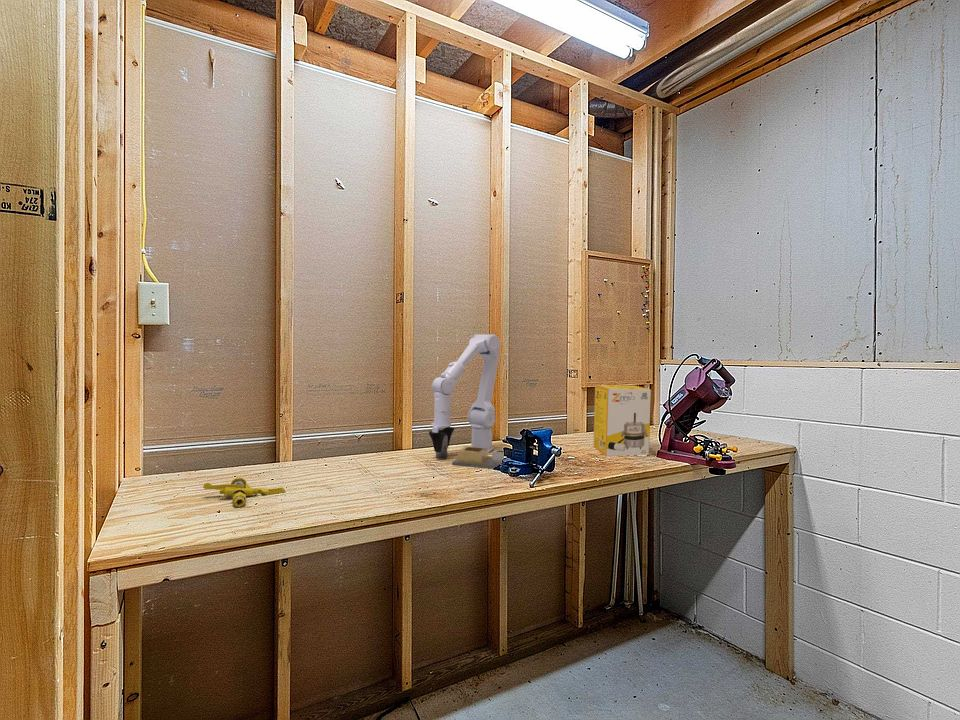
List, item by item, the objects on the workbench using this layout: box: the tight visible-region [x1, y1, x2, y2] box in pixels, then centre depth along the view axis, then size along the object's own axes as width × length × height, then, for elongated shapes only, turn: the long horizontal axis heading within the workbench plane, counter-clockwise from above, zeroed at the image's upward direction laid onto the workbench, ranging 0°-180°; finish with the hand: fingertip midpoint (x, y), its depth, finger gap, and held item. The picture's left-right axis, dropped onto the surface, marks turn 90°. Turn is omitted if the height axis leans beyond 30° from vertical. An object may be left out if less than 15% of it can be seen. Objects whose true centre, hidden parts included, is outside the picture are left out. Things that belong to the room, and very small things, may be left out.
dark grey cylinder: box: [435, 434, 448, 460], centre depth 177 cm, size 4×4×8 cm
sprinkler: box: [202, 477, 286, 508], centre depth 128 cm, size 19×4×15 cm
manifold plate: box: [452, 445, 504, 470], centre depth 170 cm, size 12×18×4 cm, turn 75°
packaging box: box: [593, 384, 652, 457], centre depth 193 cm, size 16×16×25 cm
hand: (441, 449), depth 177 cm, fingers open, 7 cm apart
